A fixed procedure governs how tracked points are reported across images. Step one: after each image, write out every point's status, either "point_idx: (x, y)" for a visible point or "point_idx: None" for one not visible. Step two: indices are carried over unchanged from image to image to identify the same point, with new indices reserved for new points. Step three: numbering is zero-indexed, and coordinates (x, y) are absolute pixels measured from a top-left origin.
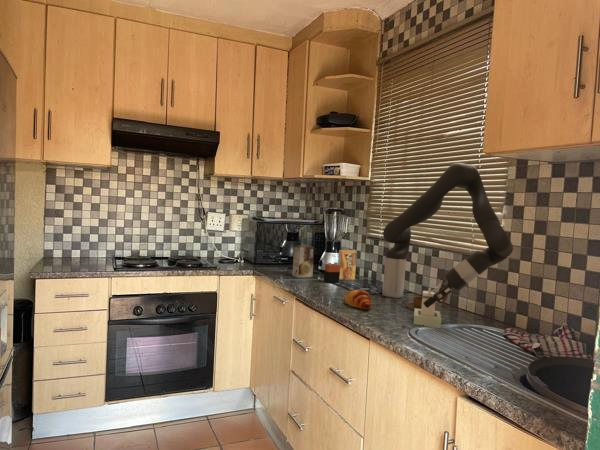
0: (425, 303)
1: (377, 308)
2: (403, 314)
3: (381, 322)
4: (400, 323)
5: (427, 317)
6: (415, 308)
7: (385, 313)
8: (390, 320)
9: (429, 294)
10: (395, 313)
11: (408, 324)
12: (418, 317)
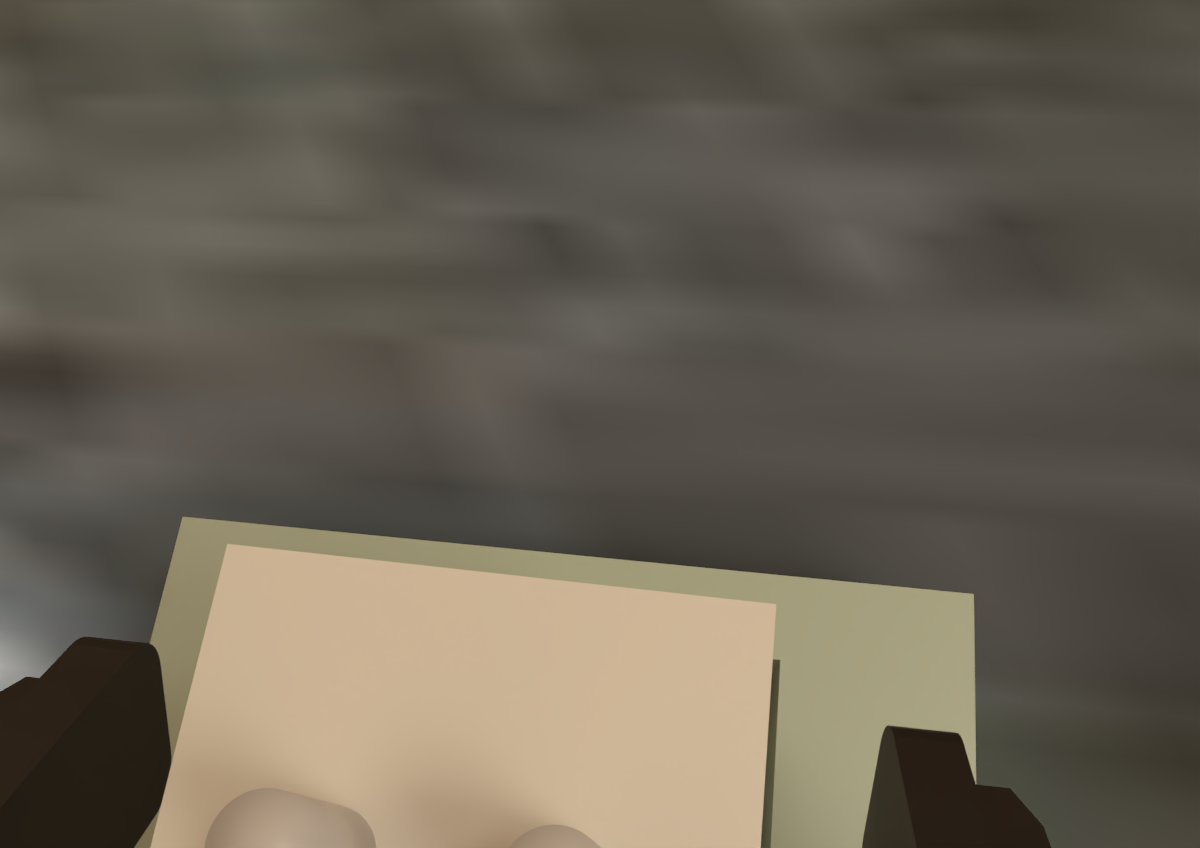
0: (23, 690)
1: (1158, 14)
2: (962, 434)
3: (197, 67)
4: (230, 338)
5: None
6: (965, 616)
7: (845, 129)
8: (375, 193)
9: (171, 829)
10: (954, 291)
11: (204, 469)
12: (172, 610)
